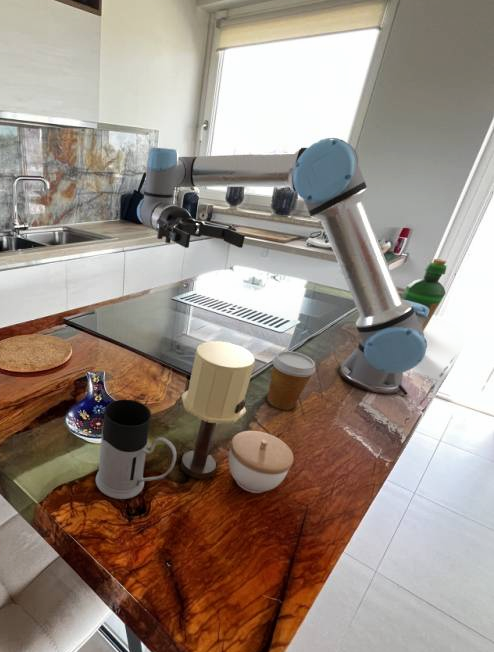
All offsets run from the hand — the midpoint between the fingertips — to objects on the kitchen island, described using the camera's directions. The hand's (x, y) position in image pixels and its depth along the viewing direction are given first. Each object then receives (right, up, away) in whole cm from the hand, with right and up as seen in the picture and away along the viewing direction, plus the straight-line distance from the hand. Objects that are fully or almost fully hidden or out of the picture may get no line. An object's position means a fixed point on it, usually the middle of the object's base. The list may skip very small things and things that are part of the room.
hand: (216, 241), depth 89 cm
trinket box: (+4, -49, -12) cm, 50 cm away
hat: (-5, -34, -17) cm, 39 cm away
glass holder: (-19, -49, -16) cm, 55 cm away
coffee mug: (+89, -1, +80) cm, 120 cm away
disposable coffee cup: (+19, -35, +13) cm, 42 cm away
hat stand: (-6, -47, -10) cm, 48 cm away
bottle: (+76, -16, +53) cm, 94 cm away
